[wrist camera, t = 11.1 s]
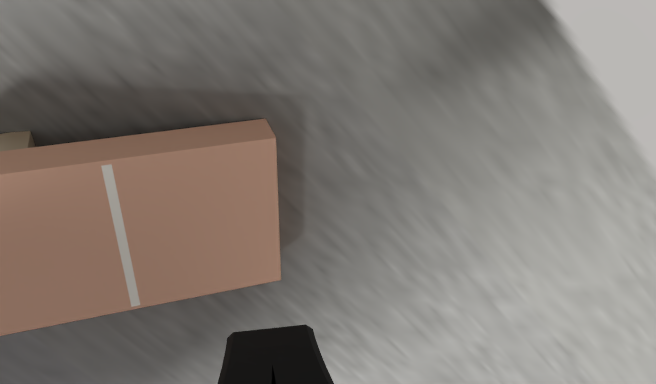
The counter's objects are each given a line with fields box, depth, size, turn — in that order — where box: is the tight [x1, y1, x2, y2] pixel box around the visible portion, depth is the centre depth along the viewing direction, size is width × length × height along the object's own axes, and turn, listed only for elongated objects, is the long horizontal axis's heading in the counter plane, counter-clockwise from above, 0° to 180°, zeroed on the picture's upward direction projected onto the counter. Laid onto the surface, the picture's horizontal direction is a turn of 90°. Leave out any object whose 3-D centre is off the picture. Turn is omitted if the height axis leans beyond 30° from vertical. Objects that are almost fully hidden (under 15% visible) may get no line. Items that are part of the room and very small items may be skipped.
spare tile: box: [0, 119, 281, 336], centre depth 14 cm, size 1×4×7 cm
